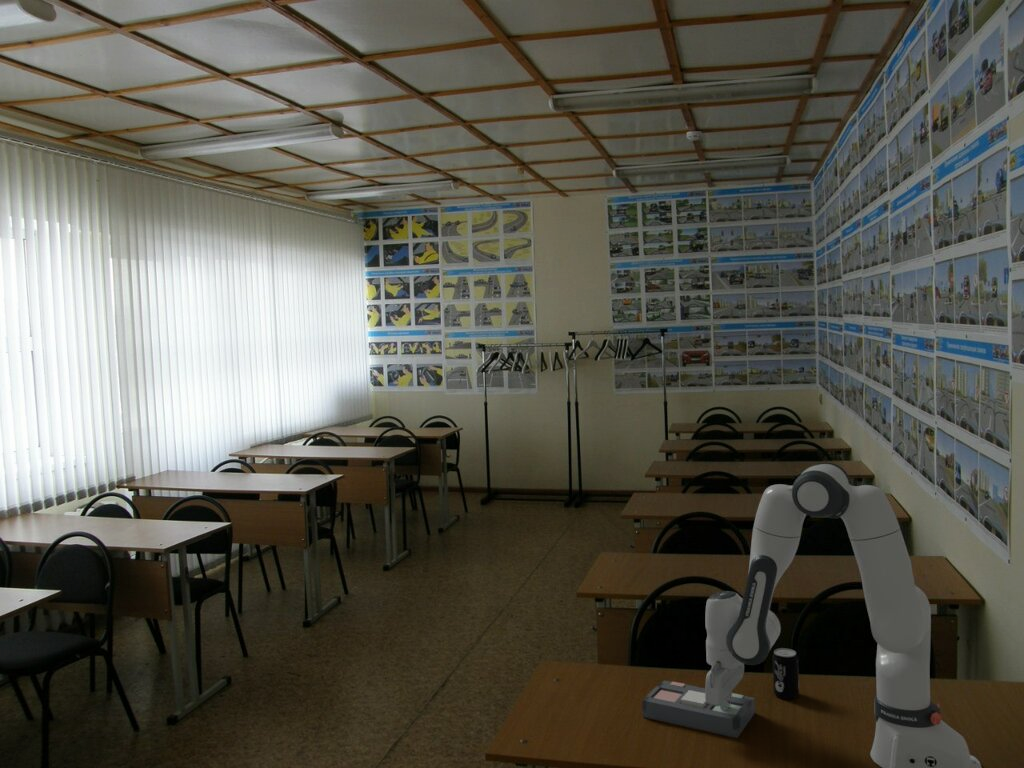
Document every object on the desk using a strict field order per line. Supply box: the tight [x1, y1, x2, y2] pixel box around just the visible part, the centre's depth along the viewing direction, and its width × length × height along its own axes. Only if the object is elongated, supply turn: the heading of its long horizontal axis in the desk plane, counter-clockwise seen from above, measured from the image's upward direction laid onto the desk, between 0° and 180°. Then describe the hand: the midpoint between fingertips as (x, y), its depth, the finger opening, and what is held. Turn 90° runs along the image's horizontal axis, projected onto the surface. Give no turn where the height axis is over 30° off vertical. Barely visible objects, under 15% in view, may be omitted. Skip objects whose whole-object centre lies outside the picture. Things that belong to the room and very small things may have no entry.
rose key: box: [653, 690, 682, 702], centre depth 218 cm, size 6×6×2 cm
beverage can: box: [772, 647, 800, 701], centre depth 223 cm, size 7×7×12 cm
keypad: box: [641, 680, 756, 739], centre depth 215 cm, size 25×15×4 cm, turn 57°
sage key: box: [712, 704, 742, 715], centre depth 209 cm, size 6×6×2 cm
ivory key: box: [681, 690, 708, 708], centre depth 213 cm, size 6×6×2 cm
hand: (725, 708), depth 209 cm, fingers closed, pressing on sage key
